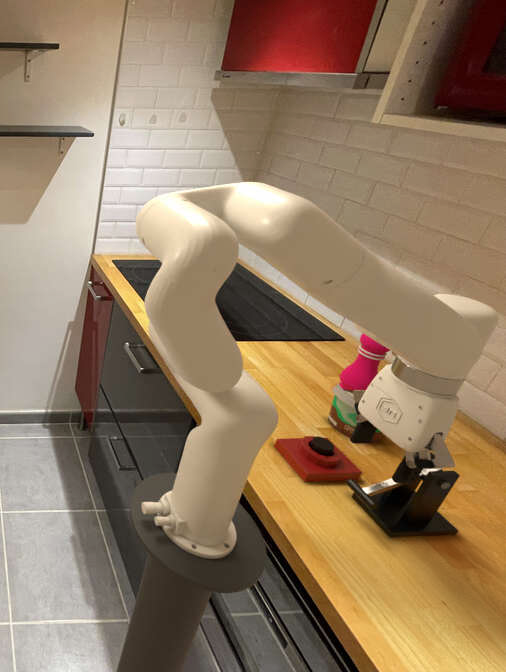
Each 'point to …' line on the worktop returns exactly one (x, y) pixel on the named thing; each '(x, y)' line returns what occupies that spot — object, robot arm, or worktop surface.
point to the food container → (345, 413)
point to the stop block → (316, 461)
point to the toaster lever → (380, 488)
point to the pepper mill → (363, 365)
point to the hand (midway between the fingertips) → (379, 460)
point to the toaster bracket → (414, 506)
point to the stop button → (322, 446)
